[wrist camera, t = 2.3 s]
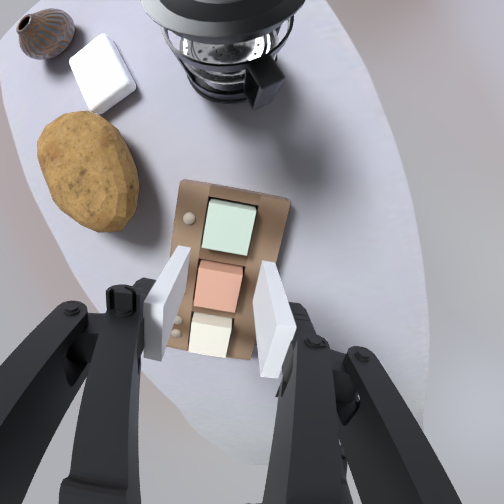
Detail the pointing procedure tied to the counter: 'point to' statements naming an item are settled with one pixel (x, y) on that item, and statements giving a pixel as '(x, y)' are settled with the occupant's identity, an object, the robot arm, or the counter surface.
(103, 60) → the soap
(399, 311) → the counter surface
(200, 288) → the terracotta button
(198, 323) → the cream button
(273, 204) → the console
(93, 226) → the potato
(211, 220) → the sage button
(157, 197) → the counter surface
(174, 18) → the french press
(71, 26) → the vase
